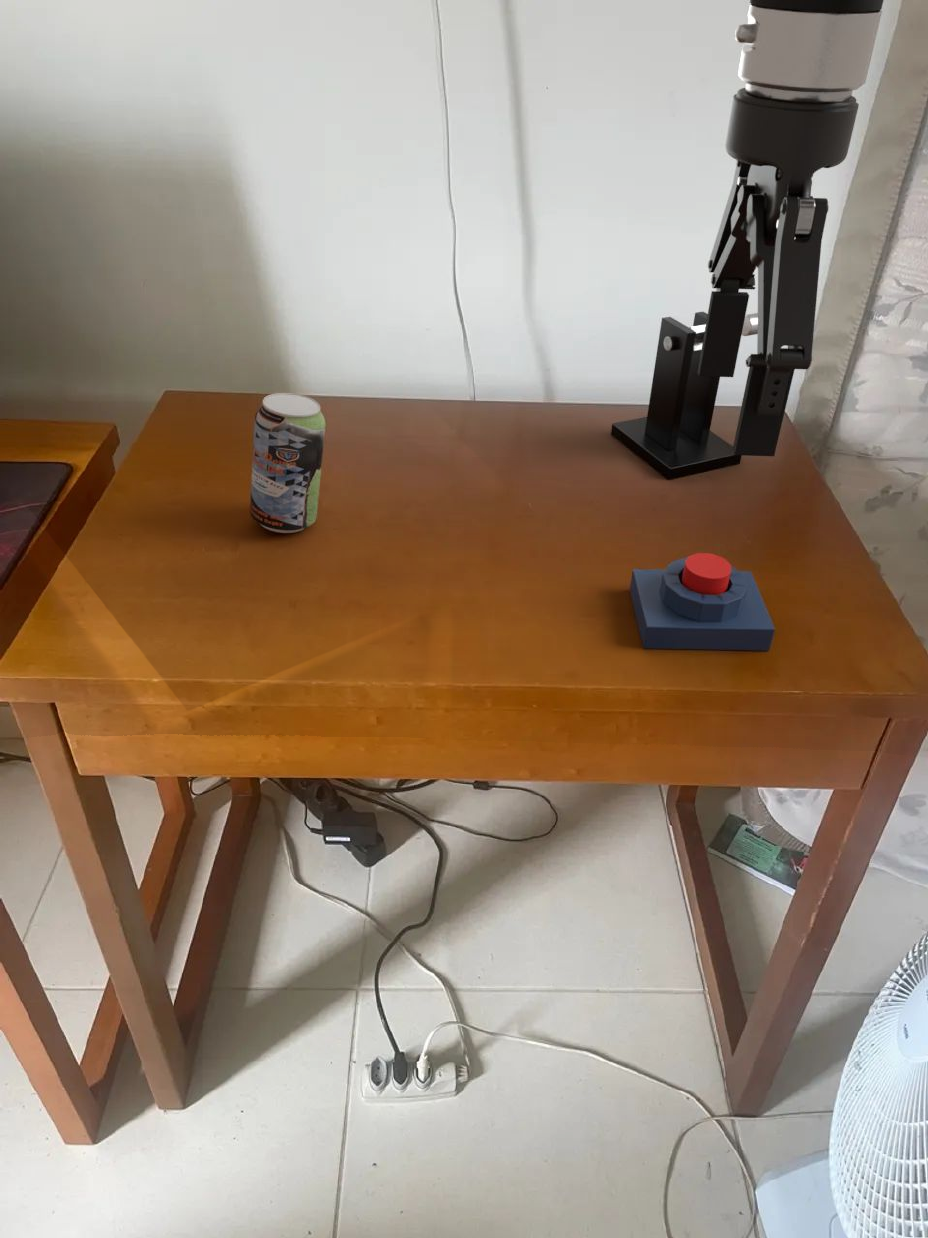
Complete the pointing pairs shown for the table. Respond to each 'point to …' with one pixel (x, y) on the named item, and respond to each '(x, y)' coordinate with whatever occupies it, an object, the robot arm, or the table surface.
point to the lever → (748, 329)
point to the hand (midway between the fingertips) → (732, 411)
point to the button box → (699, 612)
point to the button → (706, 574)
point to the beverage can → (287, 462)
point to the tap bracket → (678, 410)
